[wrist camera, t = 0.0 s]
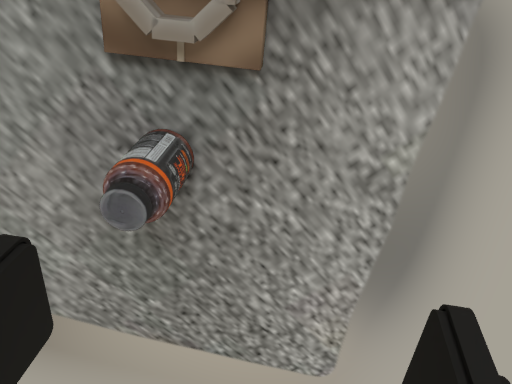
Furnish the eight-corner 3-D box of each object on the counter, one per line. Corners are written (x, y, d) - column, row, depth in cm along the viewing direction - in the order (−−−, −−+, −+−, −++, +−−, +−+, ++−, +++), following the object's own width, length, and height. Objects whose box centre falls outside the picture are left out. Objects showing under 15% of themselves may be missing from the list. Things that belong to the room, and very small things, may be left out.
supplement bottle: (199, 179, 45) (164, 244, 35) (145, 179, 46) (97, 242, 36) (191, 125, 42) (150, 180, 32) (134, 126, 43) (78, 179, 33)
